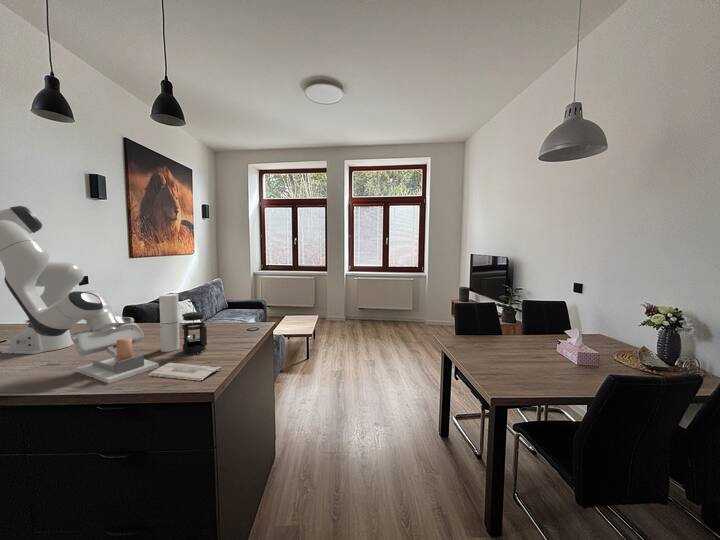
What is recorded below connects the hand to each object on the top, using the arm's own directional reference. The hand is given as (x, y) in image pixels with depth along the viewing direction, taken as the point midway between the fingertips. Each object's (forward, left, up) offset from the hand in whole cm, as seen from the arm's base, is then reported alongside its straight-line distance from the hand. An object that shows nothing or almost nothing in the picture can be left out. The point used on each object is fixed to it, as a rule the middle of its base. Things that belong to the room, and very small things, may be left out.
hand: (119, 356), depth 108 cm
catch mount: (-1, +1, -5) cm, 6 cm away
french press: (+19, +19, -6) cm, 28 cm away
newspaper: (+25, -5, -6) cm, 26 cm away
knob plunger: (+2, -1, -4) cm, 5 cm away
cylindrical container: (+7, +23, -6) cm, 25 cm away
